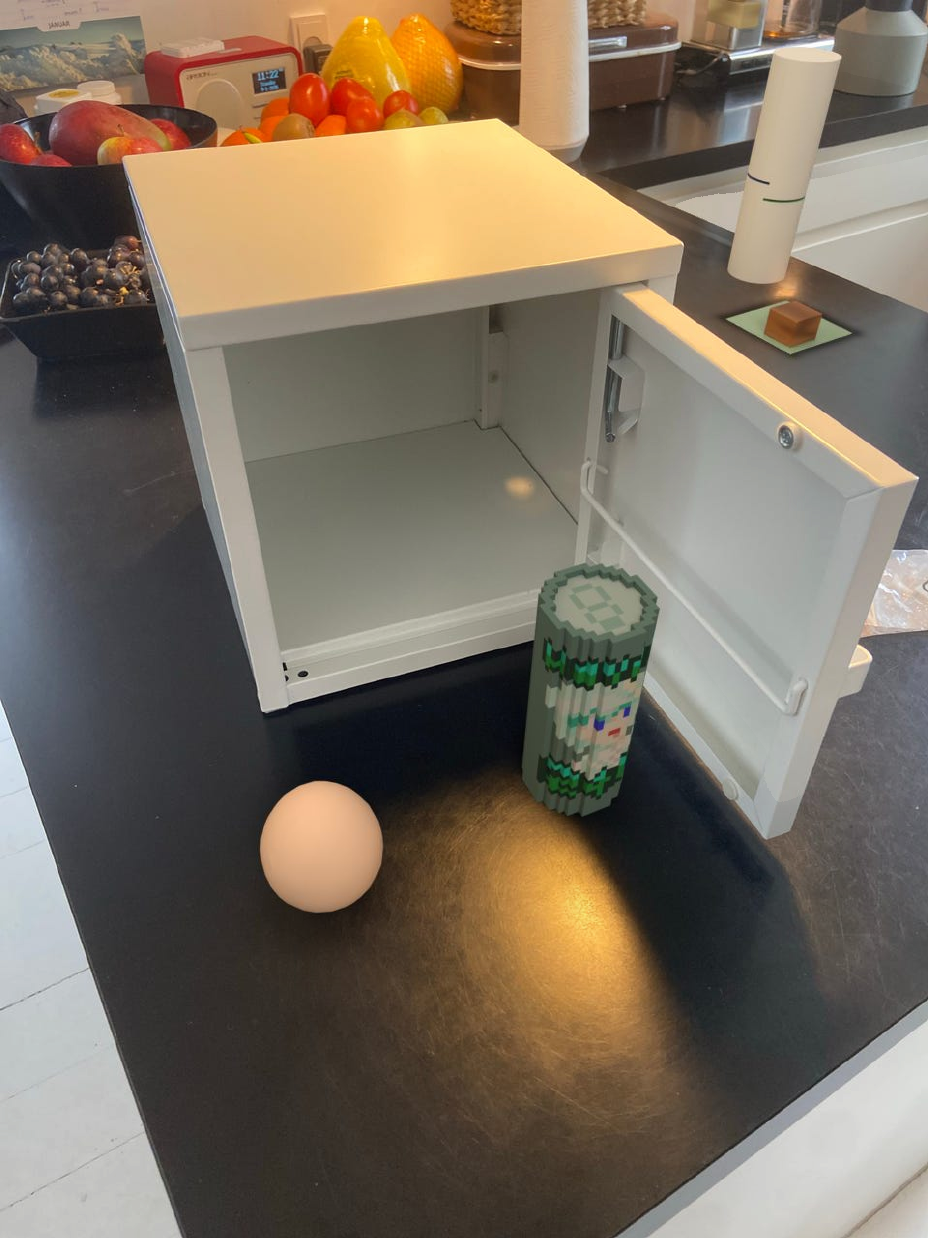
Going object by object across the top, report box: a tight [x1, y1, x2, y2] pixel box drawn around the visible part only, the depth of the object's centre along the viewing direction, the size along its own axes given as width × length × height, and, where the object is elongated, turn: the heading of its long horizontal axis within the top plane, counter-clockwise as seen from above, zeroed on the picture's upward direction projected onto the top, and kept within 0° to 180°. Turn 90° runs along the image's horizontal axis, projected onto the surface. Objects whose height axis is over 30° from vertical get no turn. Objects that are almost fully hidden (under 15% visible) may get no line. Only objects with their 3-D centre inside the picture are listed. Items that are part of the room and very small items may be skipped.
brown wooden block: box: [764, 300, 823, 347], centre depth 101 cm, size 4×4×3 cm
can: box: [521, 562, 661, 817], centre depth 53 cm, size 6×6×15 cm
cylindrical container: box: [726, 46, 842, 285], centre depth 108 cm, size 7×7×25 cm
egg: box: [259, 780, 384, 914], centre depth 50 cm, size 7×7×8 cm
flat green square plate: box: [725, 300, 853, 355], centre depth 105 cm, size 10×10×1 cm
